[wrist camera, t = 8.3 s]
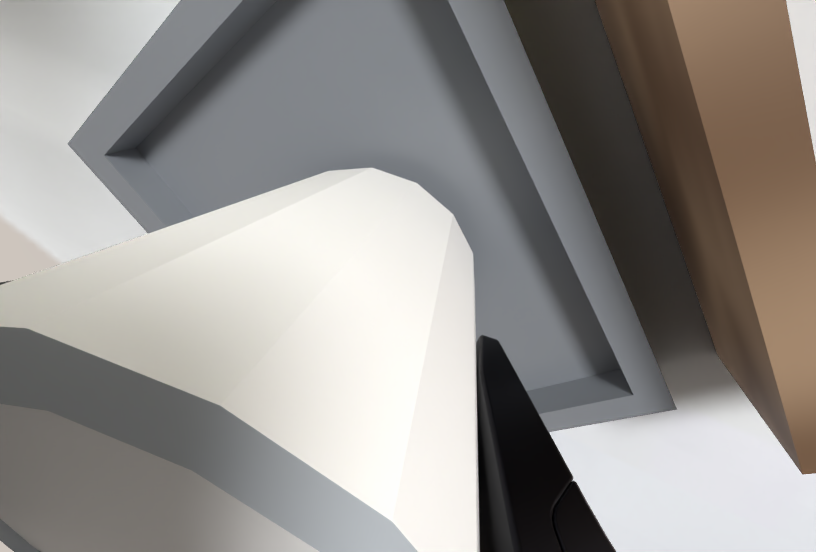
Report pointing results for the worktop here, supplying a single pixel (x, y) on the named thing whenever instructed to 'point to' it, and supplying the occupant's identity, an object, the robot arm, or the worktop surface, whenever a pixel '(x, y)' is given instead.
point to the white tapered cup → (250, 382)
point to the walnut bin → (734, 185)
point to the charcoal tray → (390, 162)
